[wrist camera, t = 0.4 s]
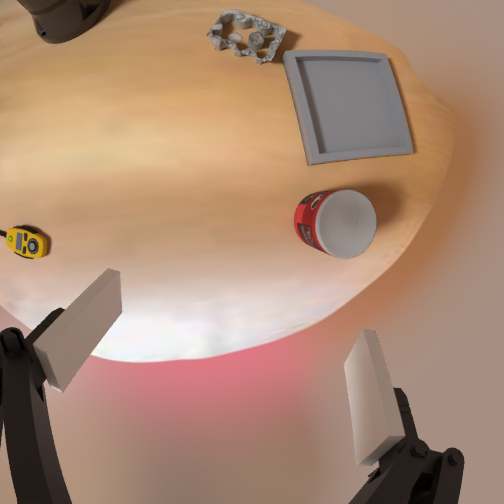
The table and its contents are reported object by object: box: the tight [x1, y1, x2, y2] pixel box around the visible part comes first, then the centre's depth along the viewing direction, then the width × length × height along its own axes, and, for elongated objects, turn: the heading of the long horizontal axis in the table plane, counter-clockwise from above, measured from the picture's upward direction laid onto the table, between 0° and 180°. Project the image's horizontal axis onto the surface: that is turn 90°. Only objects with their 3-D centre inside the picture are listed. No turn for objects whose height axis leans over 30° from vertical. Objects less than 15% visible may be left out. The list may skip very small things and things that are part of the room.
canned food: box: [294, 189, 377, 259], centre depth 37 cm, size 8×8×11 cm
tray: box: [282, 50, 414, 166], centre depth 39 cm, size 18×18×2 cm
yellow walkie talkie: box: [0, 227, 47, 259], centre depth 37 cm, size 5×2×15 cm
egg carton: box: [207, 9, 286, 65], centre depth 35 cm, size 11×8×4 cm
